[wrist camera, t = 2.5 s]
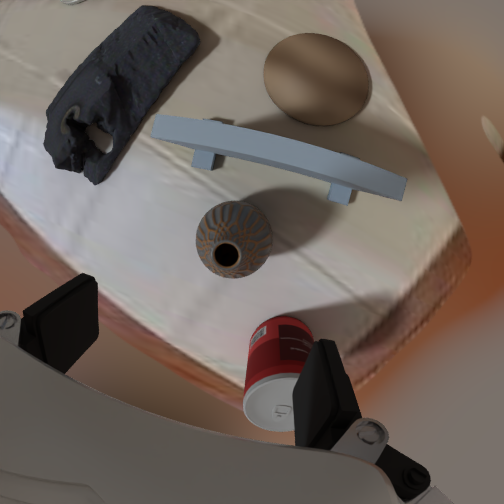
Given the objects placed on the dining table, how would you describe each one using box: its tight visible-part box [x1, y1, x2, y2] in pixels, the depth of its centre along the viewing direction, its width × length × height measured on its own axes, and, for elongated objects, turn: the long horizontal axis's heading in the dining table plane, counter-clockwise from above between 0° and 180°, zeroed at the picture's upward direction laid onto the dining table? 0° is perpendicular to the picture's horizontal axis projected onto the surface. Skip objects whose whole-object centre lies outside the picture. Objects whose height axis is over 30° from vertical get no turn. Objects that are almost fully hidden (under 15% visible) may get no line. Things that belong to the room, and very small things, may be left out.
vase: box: [196, 201, 273, 279], centre depth 24 cm, size 7×7×9 cm
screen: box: [151, 114, 407, 206], centre depth 21 cm, size 5×16×12 cm, turn 77°
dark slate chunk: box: [43, 5, 200, 185], centre depth 23 cm, size 15×22×5 cm
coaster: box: [264, 33, 369, 126], centre depth 23 cm, size 11×11×1 cm
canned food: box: [243, 316, 314, 432], centre depth 27 cm, size 8×8×11 cm
